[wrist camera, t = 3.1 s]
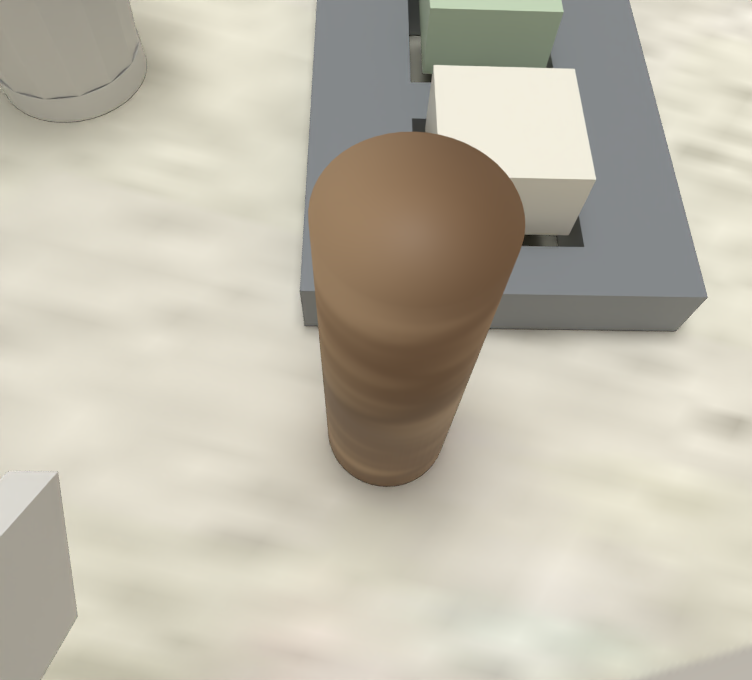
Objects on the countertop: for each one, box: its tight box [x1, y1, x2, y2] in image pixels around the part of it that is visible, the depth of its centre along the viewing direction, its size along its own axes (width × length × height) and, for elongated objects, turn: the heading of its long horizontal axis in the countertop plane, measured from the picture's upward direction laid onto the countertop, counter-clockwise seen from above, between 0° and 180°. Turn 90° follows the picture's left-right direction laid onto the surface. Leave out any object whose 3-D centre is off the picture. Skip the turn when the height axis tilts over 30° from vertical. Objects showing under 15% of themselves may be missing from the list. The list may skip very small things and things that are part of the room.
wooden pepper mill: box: [308, 132, 525, 487], centre depth 18 cm, size 4×4×12 cm
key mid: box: [419, 0, 564, 74], centre depth 27 cm, size 5×5×3 cm
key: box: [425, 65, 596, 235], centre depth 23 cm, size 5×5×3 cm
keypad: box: [300, 0, 708, 331], centre depth 30 cm, size 14×26×2 cm, turn 0°
